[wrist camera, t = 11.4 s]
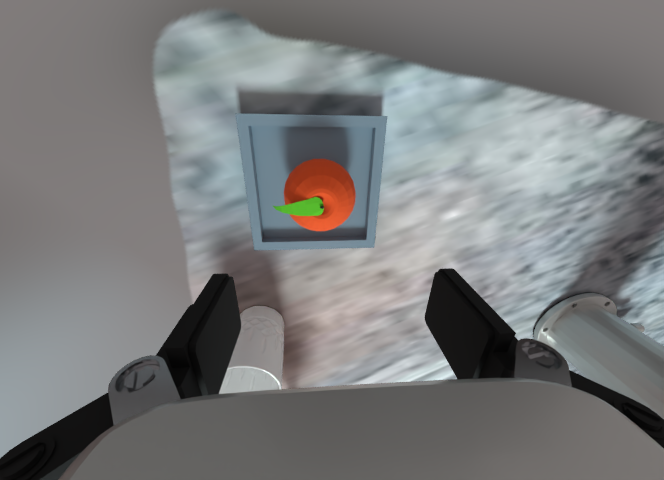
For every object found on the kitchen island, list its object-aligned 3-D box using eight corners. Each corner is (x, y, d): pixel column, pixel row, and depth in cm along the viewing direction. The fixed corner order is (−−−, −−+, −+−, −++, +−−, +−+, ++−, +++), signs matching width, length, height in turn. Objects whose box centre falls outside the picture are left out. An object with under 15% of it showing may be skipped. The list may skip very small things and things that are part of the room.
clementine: (284, 222, 28) (277, 252, 22) (270, 161, 25) (256, 174, 19) (353, 212, 29) (365, 238, 22) (346, 149, 25) (358, 158, 19)
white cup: (220, 319, 35) (189, 388, 26) (264, 292, 33) (247, 354, 24) (258, 350, 38) (242, 421, 29) (299, 326, 37) (296, 393, 28)
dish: (381, 116, 25) (387, 116, 23) (370, 240, 31) (374, 247, 29) (240, 113, 24) (235, 113, 22) (257, 242, 30) (254, 250, 28)
